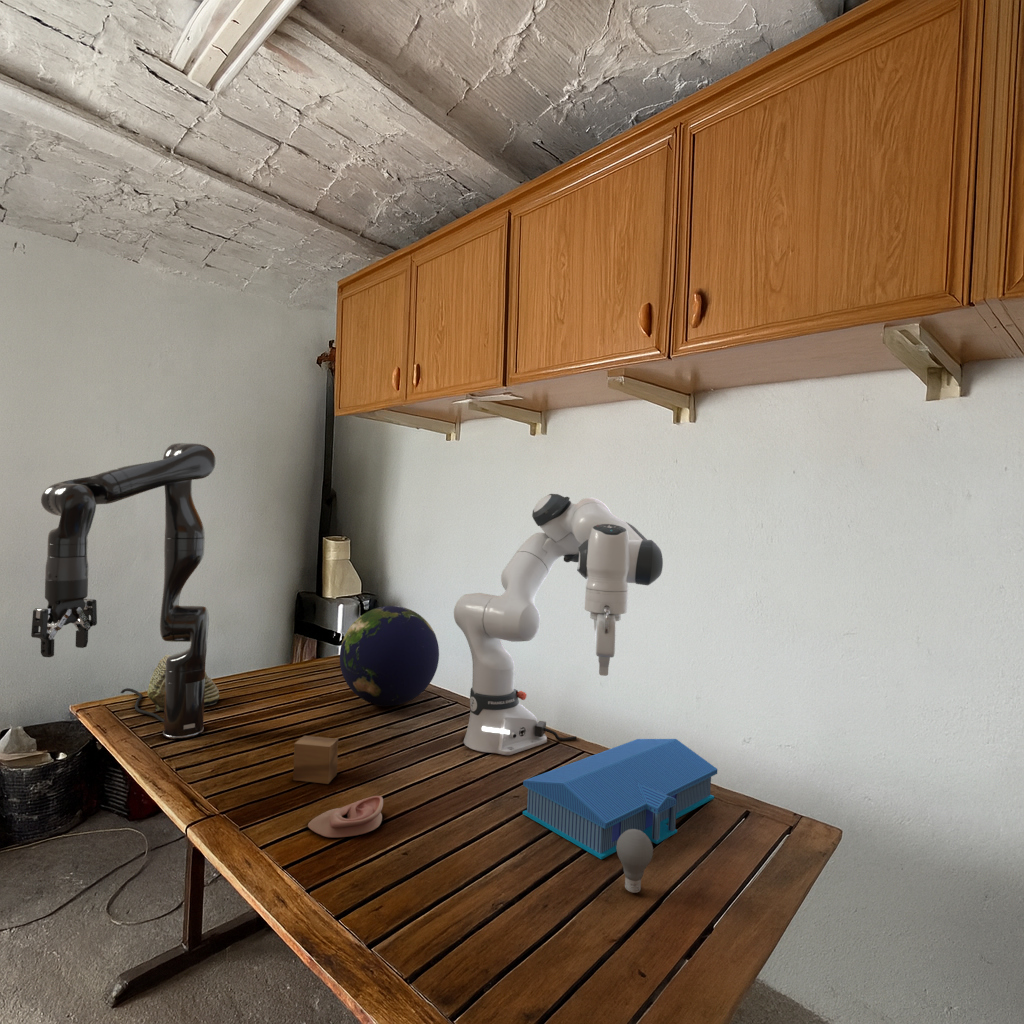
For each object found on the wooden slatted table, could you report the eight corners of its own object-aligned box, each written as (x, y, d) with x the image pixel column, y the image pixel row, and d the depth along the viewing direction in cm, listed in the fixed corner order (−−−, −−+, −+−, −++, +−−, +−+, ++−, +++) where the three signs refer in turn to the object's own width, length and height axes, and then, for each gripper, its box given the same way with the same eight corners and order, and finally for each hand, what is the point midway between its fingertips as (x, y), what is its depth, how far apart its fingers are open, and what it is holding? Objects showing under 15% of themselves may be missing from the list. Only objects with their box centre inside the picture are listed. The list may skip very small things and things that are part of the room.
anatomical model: (300, 812, 119) (329, 785, 130) (299, 833, 119) (328, 804, 130) (365, 822, 116) (390, 794, 127) (365, 843, 116) (389, 814, 127)
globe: (316, 709, 186) (320, 608, 186) (375, 684, 214) (378, 595, 214) (403, 727, 175) (408, 619, 175) (453, 698, 203) (457, 604, 202)
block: (328, 784, 140) (329, 746, 140) (293, 780, 141) (294, 743, 141) (337, 774, 145) (338, 738, 144) (302, 771, 146) (304, 735, 145)
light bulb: (610, 879, 108) (613, 822, 108) (644, 879, 109) (647, 822, 109) (619, 902, 102) (622, 840, 102) (655, 901, 103) (658, 840, 103)
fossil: (144, 707, 182) (145, 655, 182) (212, 696, 194) (213, 647, 194) (151, 716, 175) (153, 662, 175) (221, 703, 188) (223, 653, 188)
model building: (615, 867, 112) (618, 811, 112) (520, 812, 130) (523, 764, 130) (727, 803, 138) (730, 758, 138) (636, 765, 157) (638, 725, 156)
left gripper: (54, 582, 128) (52, 661, 128) (108, 573, 142) (106, 645, 142) (21, 579, 129) (19, 658, 129) (78, 571, 143) (76, 643, 144)
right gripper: (624, 612, 121) (620, 683, 121) (619, 596, 141) (616, 658, 142) (590, 609, 122) (587, 681, 122) (590, 594, 142) (587, 656, 142)
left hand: (65, 651), depth 136 cm, fingers open, 8 cm apart
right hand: (602, 668), depth 132 cm, fingers open, 8 cm apart
